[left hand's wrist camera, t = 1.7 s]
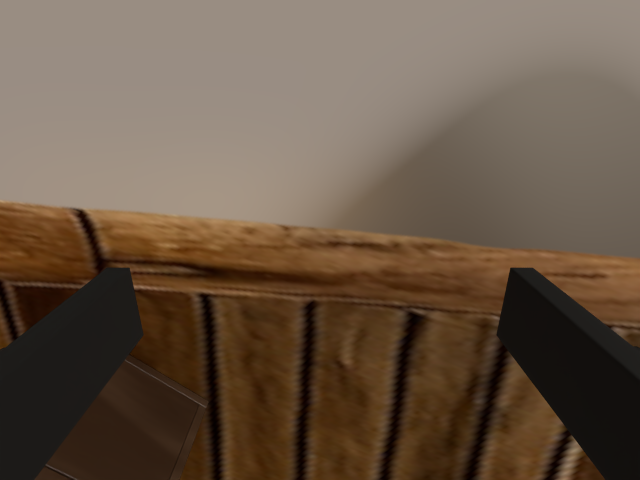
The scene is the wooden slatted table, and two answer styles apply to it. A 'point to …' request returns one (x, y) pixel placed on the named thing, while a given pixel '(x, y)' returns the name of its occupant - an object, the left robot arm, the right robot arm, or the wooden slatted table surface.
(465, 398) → the wooden slatted table surface
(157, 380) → the chest
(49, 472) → the lid
